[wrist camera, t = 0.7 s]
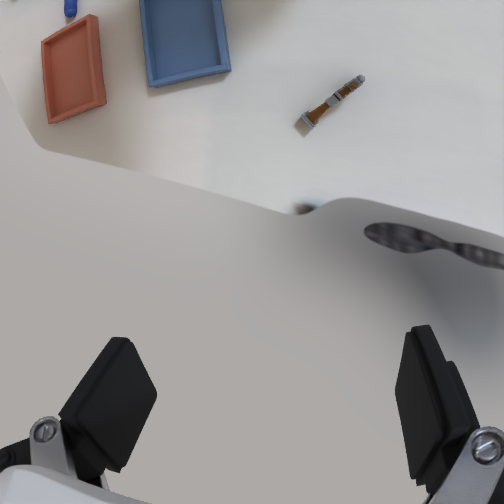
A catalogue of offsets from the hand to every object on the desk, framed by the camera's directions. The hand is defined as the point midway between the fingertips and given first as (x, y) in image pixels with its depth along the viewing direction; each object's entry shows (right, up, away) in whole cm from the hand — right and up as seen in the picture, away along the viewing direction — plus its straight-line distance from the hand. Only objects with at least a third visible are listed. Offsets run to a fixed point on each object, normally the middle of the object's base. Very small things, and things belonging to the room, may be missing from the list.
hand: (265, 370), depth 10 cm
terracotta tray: (-24, +28, +22) cm, 43 cm away
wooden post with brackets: (+8, +20, +21) cm, 30 cm away
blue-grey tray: (-8, +29, +19) cm, 36 cm away
